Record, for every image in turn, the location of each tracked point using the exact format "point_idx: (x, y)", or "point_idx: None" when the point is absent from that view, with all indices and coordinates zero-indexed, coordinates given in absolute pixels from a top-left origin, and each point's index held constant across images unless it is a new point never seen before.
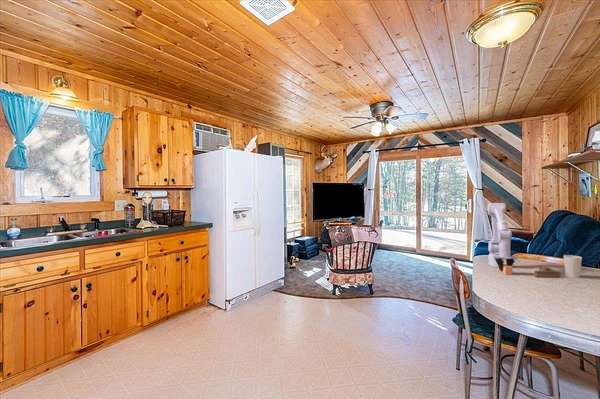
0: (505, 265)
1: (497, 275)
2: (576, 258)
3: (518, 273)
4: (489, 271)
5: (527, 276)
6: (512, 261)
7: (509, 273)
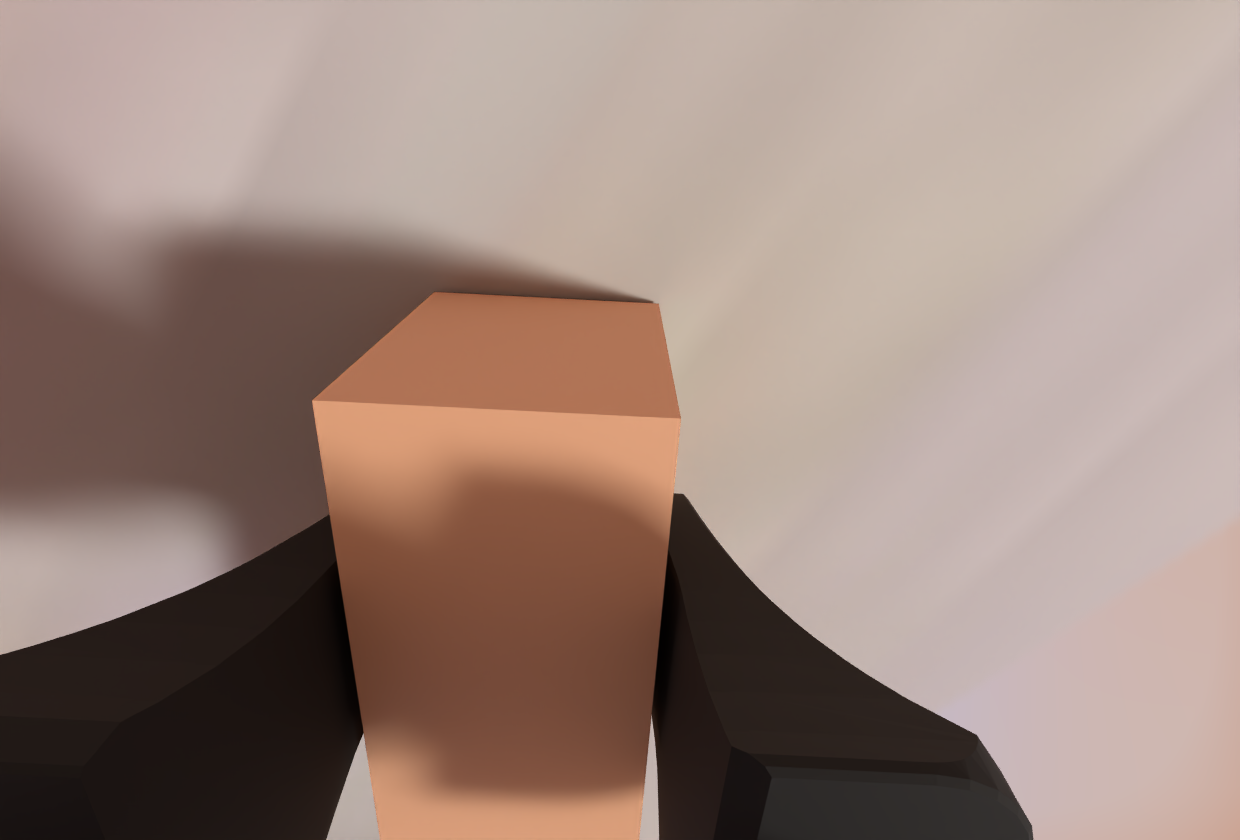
0: (537, 602)
1: (1018, 212)
2: None
3: (163, 416)
4: (880, 619)
5: (6, 38)
6: (49, 700)
7: (526, 304)
